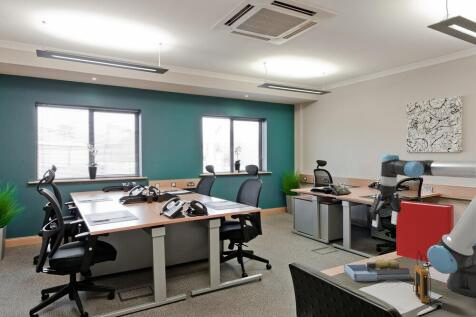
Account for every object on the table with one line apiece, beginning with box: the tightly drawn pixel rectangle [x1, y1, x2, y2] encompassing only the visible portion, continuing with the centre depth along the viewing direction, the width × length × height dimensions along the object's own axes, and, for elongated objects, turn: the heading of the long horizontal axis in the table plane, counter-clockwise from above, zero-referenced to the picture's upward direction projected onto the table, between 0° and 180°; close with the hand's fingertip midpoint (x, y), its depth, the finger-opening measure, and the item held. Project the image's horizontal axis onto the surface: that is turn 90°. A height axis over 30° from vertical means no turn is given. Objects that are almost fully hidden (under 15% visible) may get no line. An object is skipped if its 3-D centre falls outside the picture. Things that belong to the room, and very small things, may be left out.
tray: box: [343, 263, 378, 282], centre depth 153 cm, size 13×11×4 cm
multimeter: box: [412, 250, 447, 309], centre depth 127 cm, size 15×10×20 cm
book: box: [395, 199, 455, 263], centre depth 176 cm, size 27×8×32 cm, turn 42°
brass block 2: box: [385, 258, 399, 269], centre depth 154 cm, size 4×4×4 cm
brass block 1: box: [375, 259, 388, 269], centre depth 153 cm, size 4×4×4 cm
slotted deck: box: [366, 261, 411, 281], centre depth 154 cm, size 12×16×4 cm
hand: (384, 225), depth 158 cm, fingers open, 13 cm apart
